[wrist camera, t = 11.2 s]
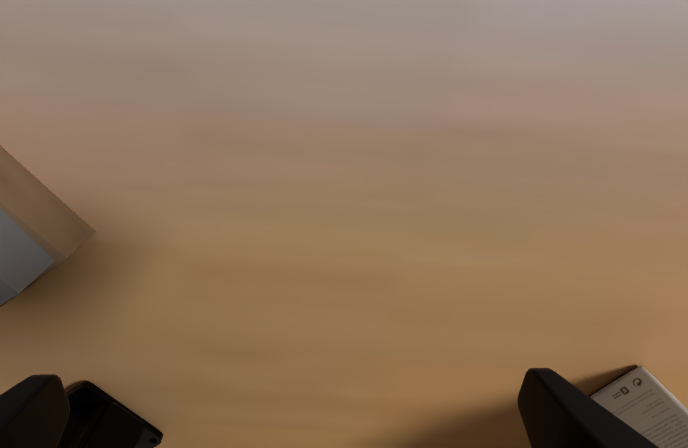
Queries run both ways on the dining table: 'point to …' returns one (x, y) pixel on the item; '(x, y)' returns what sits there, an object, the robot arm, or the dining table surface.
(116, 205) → the dining table surface
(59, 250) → the walnut block
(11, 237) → the grey block
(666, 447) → the skincare box
